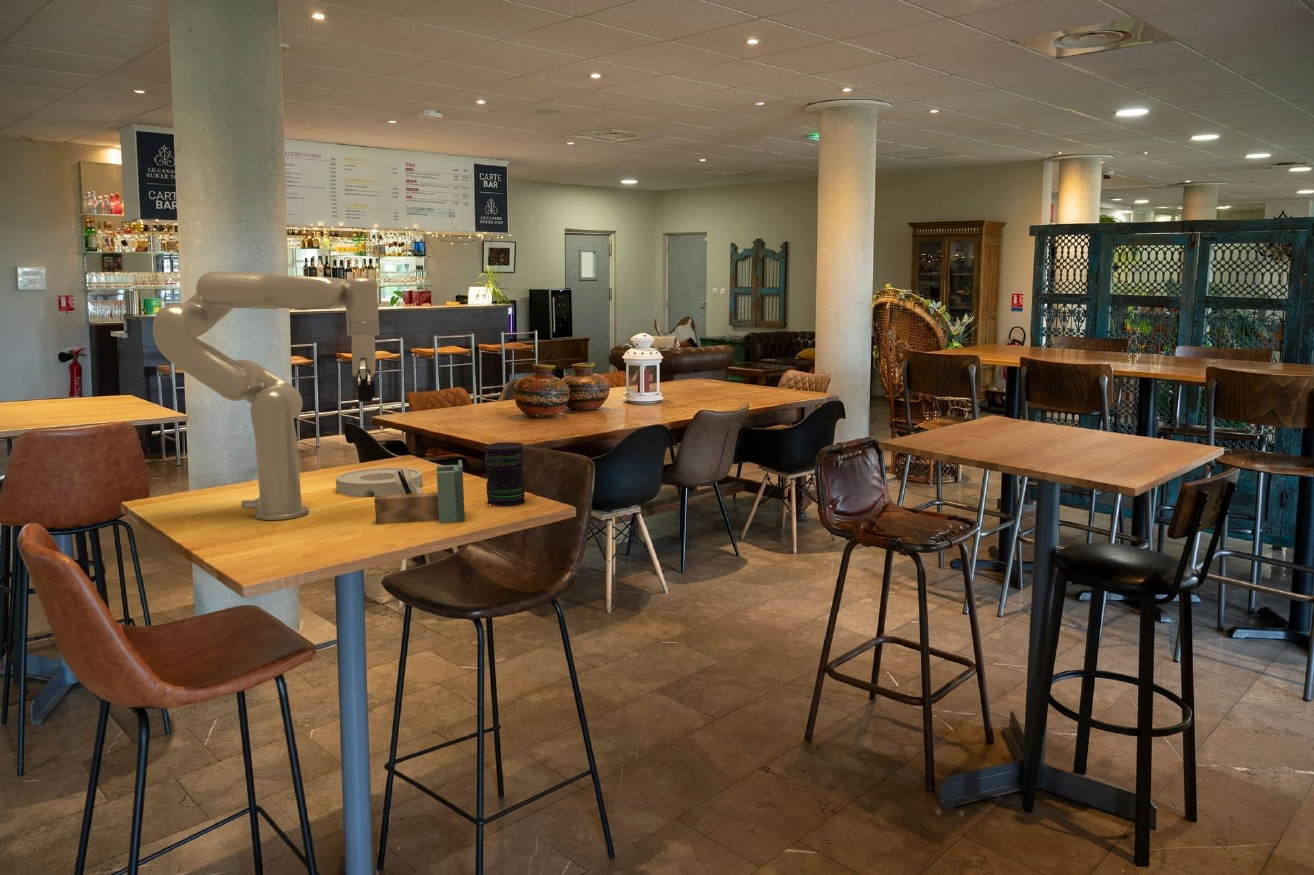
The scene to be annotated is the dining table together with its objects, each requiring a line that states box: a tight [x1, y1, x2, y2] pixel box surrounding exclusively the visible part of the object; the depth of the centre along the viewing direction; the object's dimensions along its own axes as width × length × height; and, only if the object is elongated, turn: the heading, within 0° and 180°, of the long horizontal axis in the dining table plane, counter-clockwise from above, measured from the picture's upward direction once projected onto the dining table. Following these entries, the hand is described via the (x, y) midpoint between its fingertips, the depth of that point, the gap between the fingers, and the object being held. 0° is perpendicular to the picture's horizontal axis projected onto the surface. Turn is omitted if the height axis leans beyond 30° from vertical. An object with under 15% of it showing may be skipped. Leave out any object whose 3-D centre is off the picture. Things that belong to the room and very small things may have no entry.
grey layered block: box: [394, 467, 424, 494], centre depth 253 cm, size 17×5×10 cm, turn 17°
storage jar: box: [484, 442, 526, 507], centre depth 250 cm, size 10×10×15 cm
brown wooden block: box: [374, 491, 439, 525], centre depth 233 cm, size 17×4×8 cm, turn 103°
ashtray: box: [335, 467, 424, 498], centre depth 271 cm, size 23×23×4 cm
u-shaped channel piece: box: [436, 459, 466, 524], centre depth 235 cm, size 6×10×13 cm, turn 13°
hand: (367, 399), depth 239 cm, fingers open, 9 cm apart
